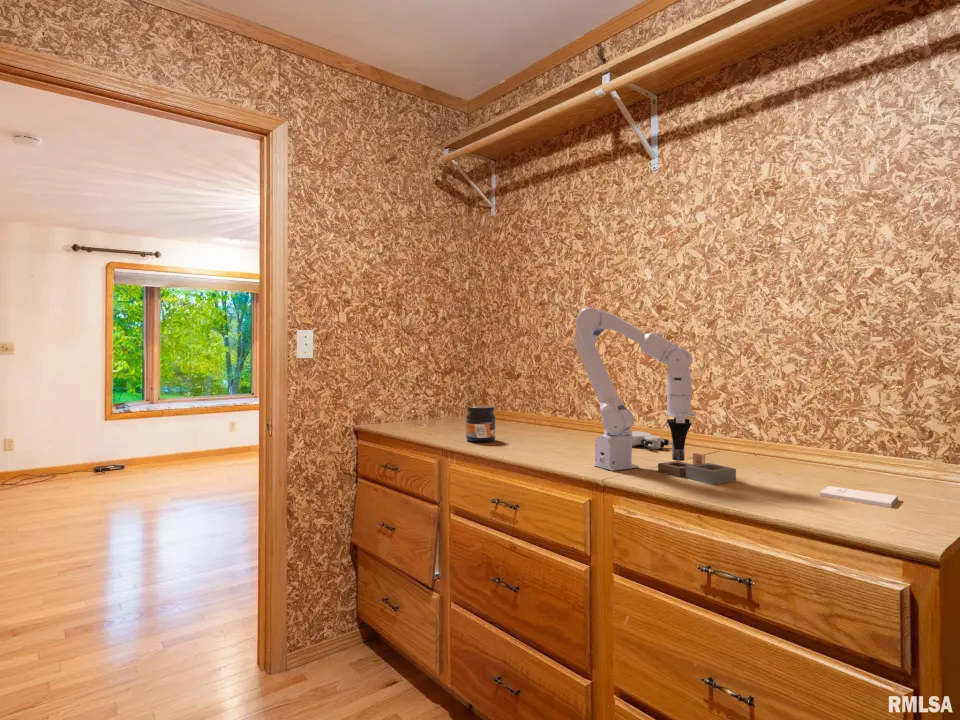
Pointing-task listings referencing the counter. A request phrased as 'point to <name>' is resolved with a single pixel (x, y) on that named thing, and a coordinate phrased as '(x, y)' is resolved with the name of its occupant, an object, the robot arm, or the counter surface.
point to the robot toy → (648, 440)
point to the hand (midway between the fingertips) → (678, 448)
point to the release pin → (698, 458)
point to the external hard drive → (860, 496)
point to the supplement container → (480, 424)
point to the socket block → (673, 468)
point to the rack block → (711, 473)
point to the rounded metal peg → (678, 453)
